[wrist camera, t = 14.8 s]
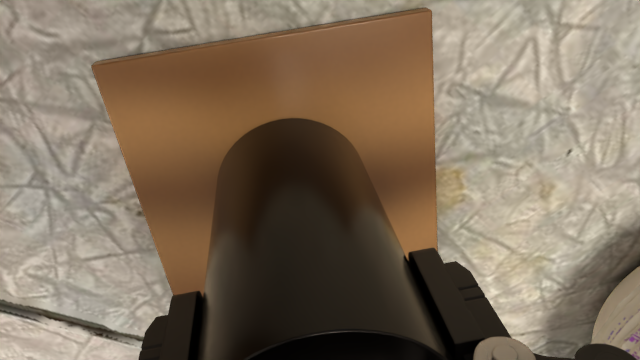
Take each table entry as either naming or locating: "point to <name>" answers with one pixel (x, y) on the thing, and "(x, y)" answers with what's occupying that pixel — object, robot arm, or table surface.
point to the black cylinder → (307, 257)
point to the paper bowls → (621, 317)
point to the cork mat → (269, 105)
